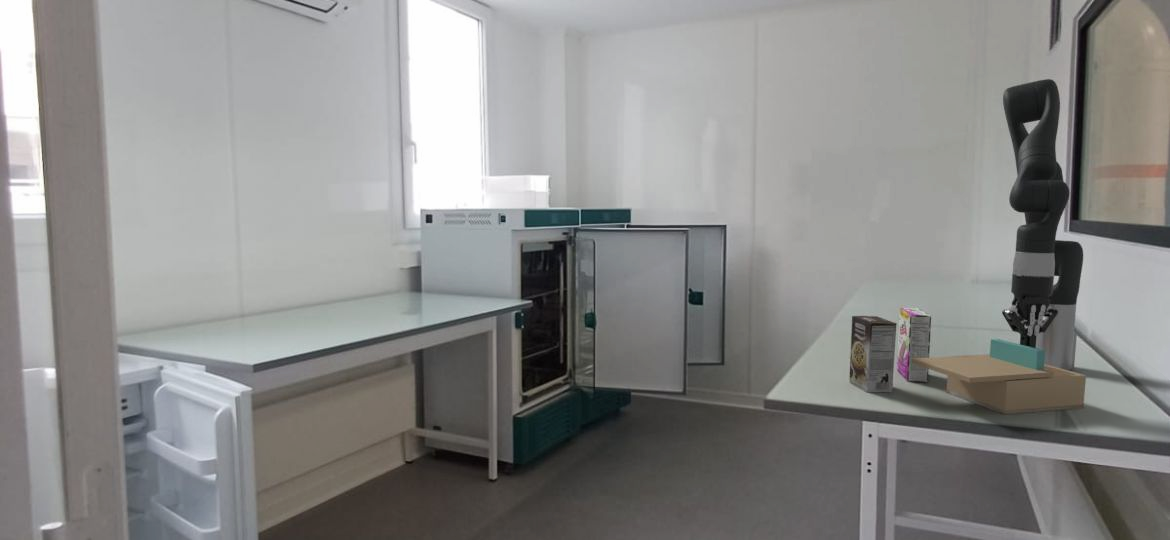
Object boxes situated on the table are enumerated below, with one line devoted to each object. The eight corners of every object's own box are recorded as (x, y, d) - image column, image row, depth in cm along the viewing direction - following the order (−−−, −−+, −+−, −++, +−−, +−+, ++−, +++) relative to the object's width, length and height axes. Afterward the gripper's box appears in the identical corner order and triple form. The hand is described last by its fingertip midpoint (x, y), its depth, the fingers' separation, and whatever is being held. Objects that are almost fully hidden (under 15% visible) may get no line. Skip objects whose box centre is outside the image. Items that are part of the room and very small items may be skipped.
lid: (988, 358, 157) (990, 337, 157) (1053, 376, 141) (1055, 353, 141) (911, 362, 153) (912, 340, 152) (969, 382, 136) (970, 358, 136)
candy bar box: (895, 370, 175) (898, 307, 173) (916, 371, 174) (919, 307, 172) (906, 381, 164) (910, 314, 163) (928, 383, 163) (932, 315, 162)
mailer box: (1019, 387, 160) (1021, 358, 159) (1083, 407, 144) (1086, 375, 144) (946, 392, 155) (948, 362, 154) (1004, 414, 140) (1007, 380, 139)
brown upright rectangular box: (847, 381, 164) (850, 315, 162) (873, 381, 165) (876, 315, 163) (866, 392, 155) (870, 322, 153) (893, 392, 155) (897, 322, 154)
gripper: (1042, 270, 153) (1036, 347, 154) (993, 271, 149) (988, 349, 151) (1073, 274, 145) (1067, 354, 147) (1022, 275, 142) (1016, 357, 144)
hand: (1027, 351), depth 149 cm, fingers closed
